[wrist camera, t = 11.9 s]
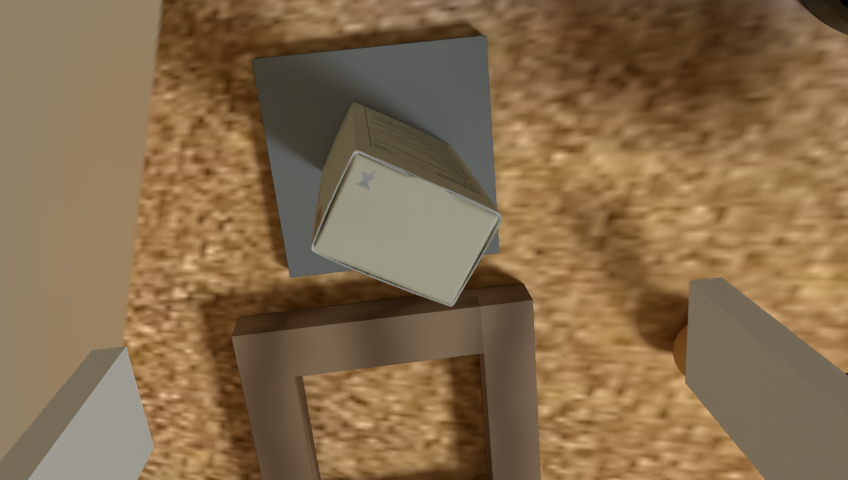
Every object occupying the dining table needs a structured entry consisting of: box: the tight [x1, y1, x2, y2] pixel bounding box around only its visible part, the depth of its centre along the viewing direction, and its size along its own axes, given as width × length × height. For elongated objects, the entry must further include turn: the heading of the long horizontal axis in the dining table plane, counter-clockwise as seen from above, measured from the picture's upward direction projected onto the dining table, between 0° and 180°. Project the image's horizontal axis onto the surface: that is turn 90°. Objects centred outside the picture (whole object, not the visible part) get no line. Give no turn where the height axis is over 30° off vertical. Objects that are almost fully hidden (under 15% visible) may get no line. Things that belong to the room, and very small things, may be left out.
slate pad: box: [252, 35, 499, 278], centre depth 36 cm, size 12×12×1 cm
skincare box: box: [311, 102, 502, 306], centre depth 30 cm, size 6×4×12 cm
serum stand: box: [232, 283, 541, 480], centre depth 41 cm, size 17×17×2 cm
